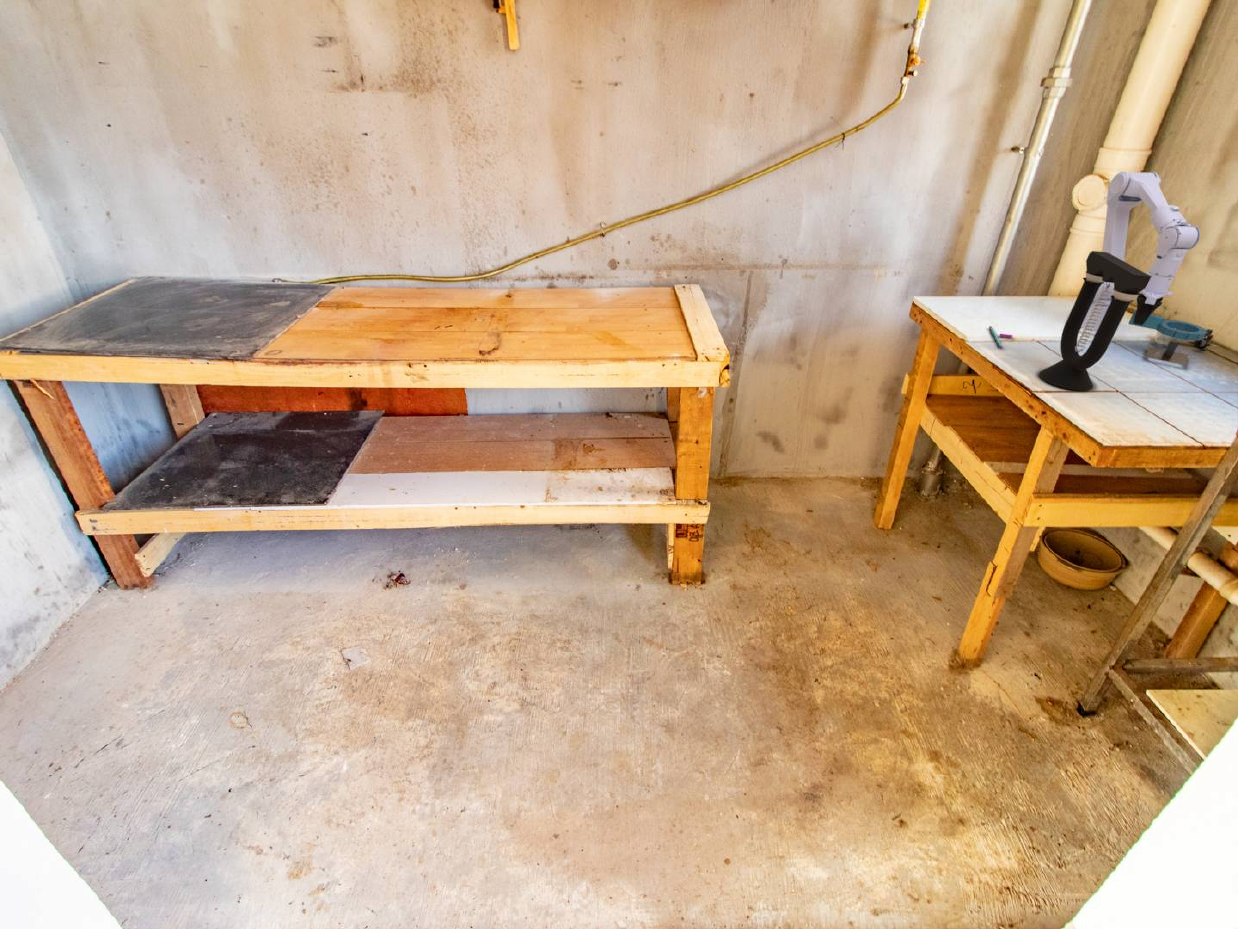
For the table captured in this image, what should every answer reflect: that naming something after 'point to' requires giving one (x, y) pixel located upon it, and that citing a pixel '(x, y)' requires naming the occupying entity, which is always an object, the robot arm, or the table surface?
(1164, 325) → the ring
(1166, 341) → the valve
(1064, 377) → the spring support
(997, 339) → the squeegee
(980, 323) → the table surface
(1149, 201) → the robot arm
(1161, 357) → the ring stand
